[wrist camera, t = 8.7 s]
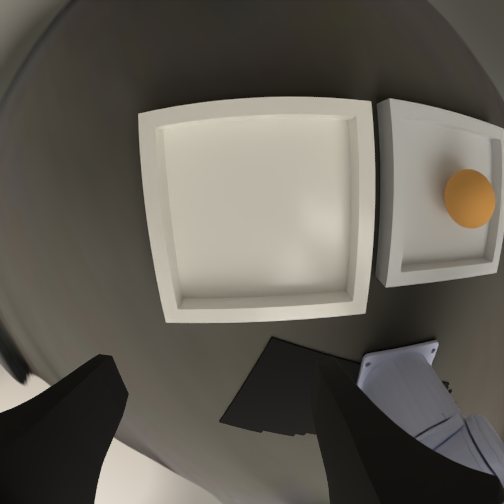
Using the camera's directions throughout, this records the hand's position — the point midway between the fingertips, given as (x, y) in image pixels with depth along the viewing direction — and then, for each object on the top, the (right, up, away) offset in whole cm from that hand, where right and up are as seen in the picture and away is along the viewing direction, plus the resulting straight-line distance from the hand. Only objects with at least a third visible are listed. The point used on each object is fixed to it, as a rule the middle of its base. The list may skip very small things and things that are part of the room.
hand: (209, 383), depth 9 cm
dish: (+2, +7, +9) cm, 11 cm away
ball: (+16, +9, +7) cm, 19 cm away
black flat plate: (+14, -13, +15) cm, 25 cm away
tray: (+16, +9, +8) cm, 20 cm away
